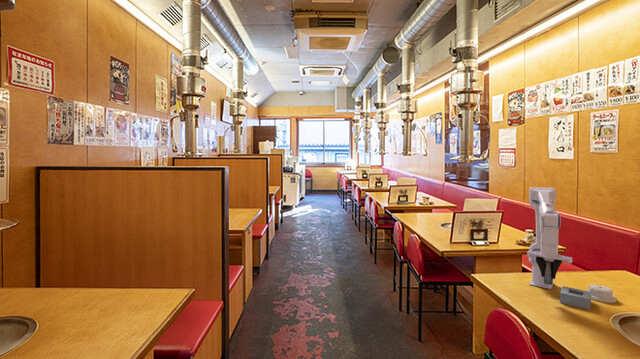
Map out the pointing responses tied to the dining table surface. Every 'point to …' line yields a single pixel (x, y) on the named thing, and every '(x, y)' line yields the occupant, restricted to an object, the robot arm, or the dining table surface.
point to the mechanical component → (601, 293)
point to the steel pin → (548, 272)
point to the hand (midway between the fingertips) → (548, 277)
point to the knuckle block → (575, 297)
